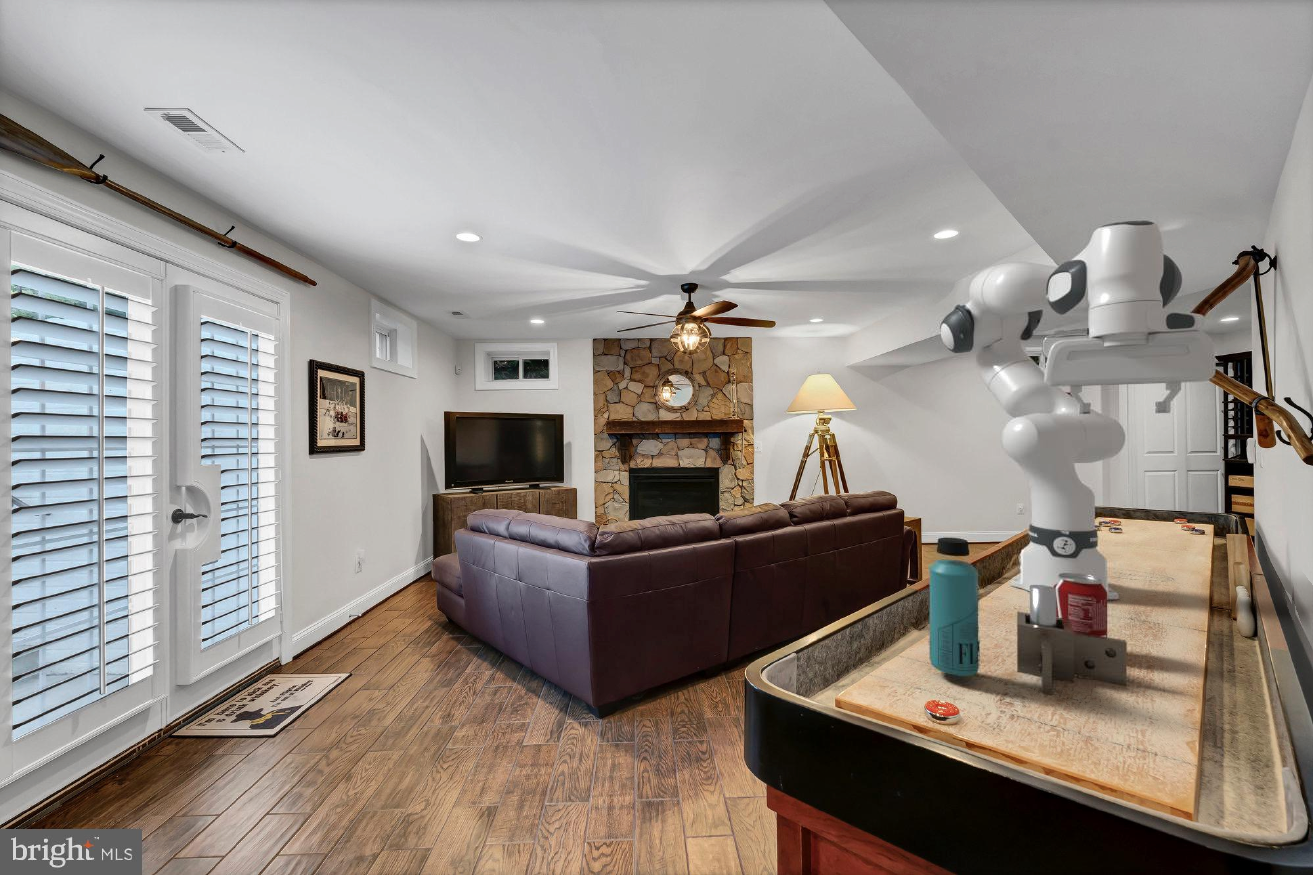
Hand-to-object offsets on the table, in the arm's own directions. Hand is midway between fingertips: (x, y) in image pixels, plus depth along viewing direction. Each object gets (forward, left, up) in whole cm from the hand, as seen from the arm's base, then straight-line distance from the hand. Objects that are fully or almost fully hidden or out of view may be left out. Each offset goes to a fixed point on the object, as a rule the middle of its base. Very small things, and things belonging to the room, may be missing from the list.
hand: (1122, 413), depth 85 cm
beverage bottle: (+23, -21, -38) cm, 50 cm away
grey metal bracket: (+16, -7, -38) cm, 42 cm away
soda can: (+3, -5, -38) cm, 39 cm away
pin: (+13, -10, -38) cm, 42 cm away
